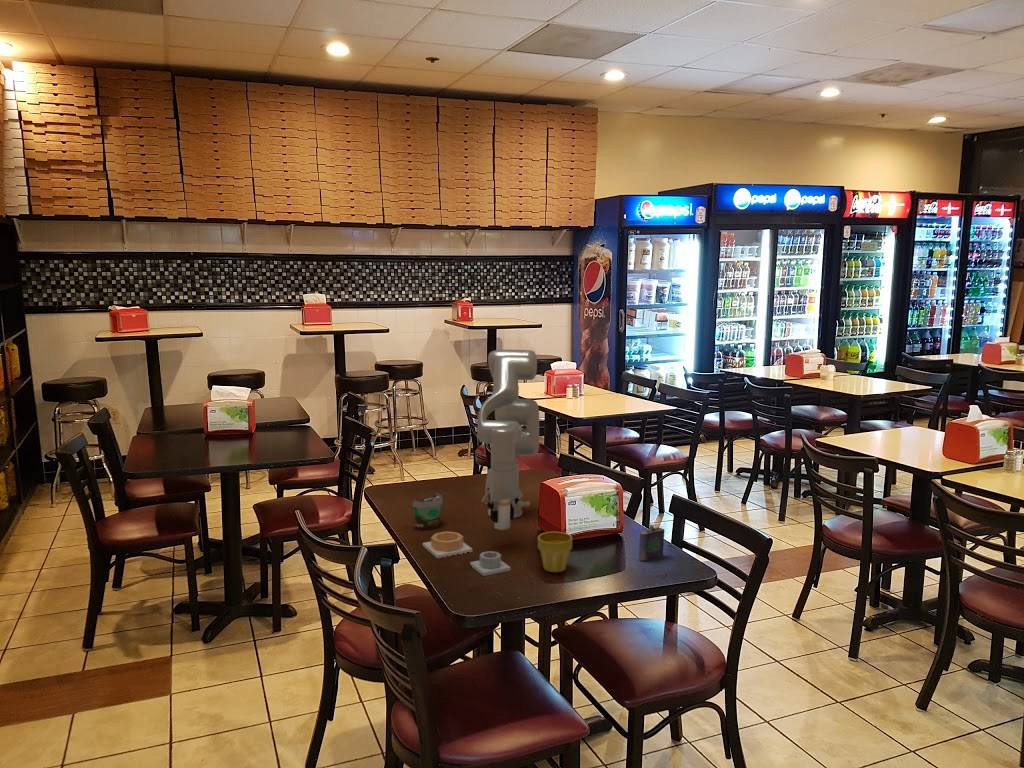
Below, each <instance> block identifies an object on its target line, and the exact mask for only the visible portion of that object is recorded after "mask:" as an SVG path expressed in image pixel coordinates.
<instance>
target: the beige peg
mask: <svg viewBox="0 0 1024 768" xmlns="http://www.w3.org/2000/svg"><path fill="white" fill-rule="evenodd" d="M510 504H511V500H510V498H508V499H503V500H501V501H500V502H498V505H497V509H496V510H497V511H498V522H497V523H495V522H493V523H494V525H493V526H494V529H496V530H501V531H504V530H508V529H510V528H511V519H510Z"/></svg>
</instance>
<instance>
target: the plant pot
mask: <svg viewBox="0 0 1024 768" xmlns="http://www.w3.org/2000/svg"><path fill="white" fill-rule="evenodd" d="M537 548H538V550H539V551H540V552H539V553H540V557H541V560H542V561H541V562H542V565H543V569H544V570H545V571H547V572H551V573H561V572H564V571H565V570H566V569H567V565H568V560H569V556H570V551H571V550H572V549H573V536H572V535H570V534H569V533H567V532H561V531H546V532H543V533H542V532H541V533H540V534H539V535H538V536H537Z"/></svg>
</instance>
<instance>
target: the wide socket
mask: <svg viewBox="0 0 1024 768" xmlns="http://www.w3.org/2000/svg"><path fill="white" fill-rule="evenodd" d="M422 547H423V548H425V549H426V551H428V552H429V553H431V554H432V555H433V556H434V557H435V558H436V559H437V558H438V559H441V558H442V557H443V558H447V556H448V557H452V555H454V556H458V555H457V554H459V555H464V554H468V553H467V552H469V553H473V548H472V547H470V546H469V545H468V544H467V543H465V542H464V535H462V534H461V533H459V532H456V531H448V530H446V531H441V532H435V533H434V534H433V535H432V536H431V537H430V541H425V542H422ZM463 553H464V554H463Z"/></svg>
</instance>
